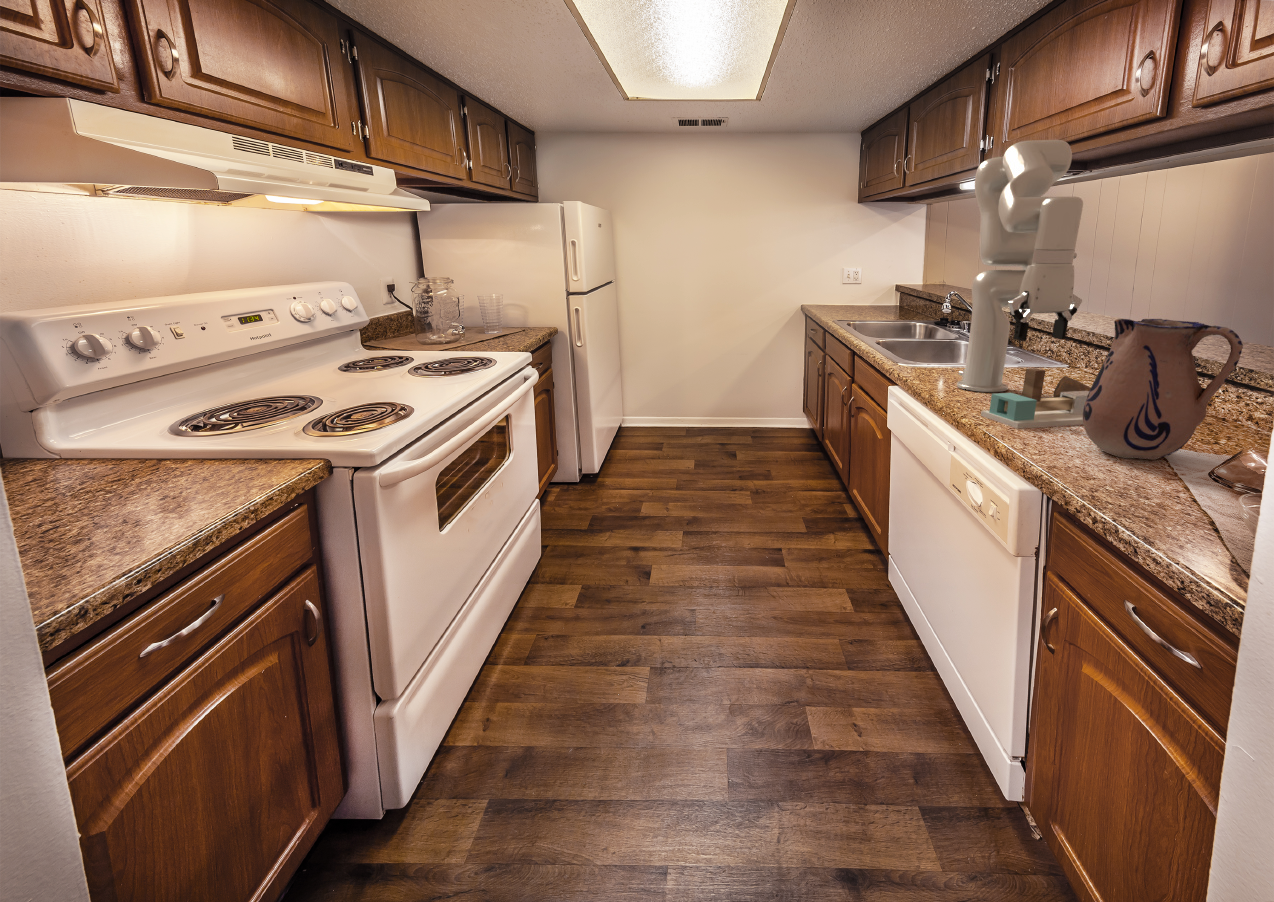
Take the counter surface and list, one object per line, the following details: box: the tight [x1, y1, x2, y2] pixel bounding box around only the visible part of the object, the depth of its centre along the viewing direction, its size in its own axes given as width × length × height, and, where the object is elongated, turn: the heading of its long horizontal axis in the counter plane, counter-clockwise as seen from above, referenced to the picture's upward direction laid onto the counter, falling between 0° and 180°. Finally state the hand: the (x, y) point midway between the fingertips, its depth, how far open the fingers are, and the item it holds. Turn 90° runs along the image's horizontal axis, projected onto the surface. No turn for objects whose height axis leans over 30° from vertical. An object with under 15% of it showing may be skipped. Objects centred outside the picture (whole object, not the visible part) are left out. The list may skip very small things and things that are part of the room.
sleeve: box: [1058, 391, 1089, 415], centre depth 158 cm, size 7×4×4 cm, turn 101°
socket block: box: [989, 392, 1037, 421], centre depth 155 cm, size 5×8×4 cm, turn 11°
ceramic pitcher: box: [1083, 318, 1244, 461], centre depth 127 cm, size 18×21×25 cm
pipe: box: [1052, 375, 1091, 398], centre depth 174 cm, size 6×17×10 cm
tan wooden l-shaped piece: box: [1004, 367, 1073, 412], centre depth 155 cm, size 17×3×9 cm, turn 101°
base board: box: [980, 409, 1084, 429], centre depth 157 cm, size 26×12×1 cm, turn 101°
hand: (1039, 339), depth 152 cm, fingers open, 9 cm apart
